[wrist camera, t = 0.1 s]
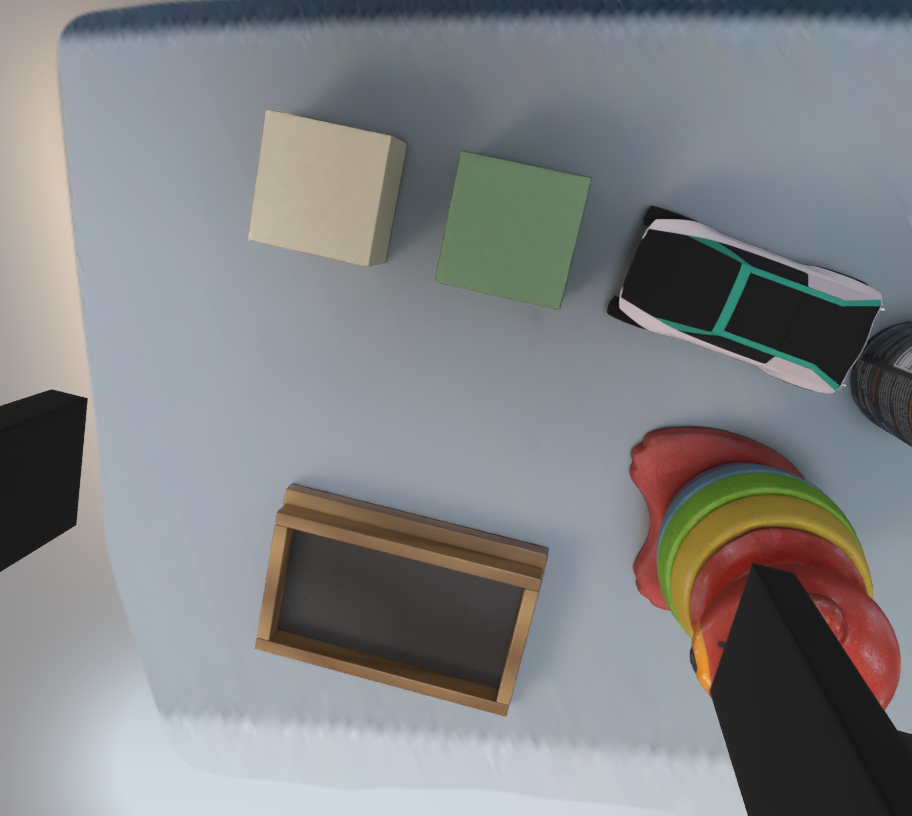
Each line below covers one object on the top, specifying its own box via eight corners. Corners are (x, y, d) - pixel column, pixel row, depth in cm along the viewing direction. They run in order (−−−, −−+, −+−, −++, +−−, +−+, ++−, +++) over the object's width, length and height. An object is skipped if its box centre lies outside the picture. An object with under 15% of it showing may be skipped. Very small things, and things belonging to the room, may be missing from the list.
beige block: (292, 119, 43) (265, 109, 39) (407, 143, 42) (391, 135, 38) (275, 238, 44) (247, 239, 41) (385, 263, 44) (368, 266, 40)
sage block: (470, 156, 42) (460, 150, 38) (589, 182, 41) (592, 177, 38) (445, 276, 44) (434, 281, 40) (560, 302, 43) (559, 310, 39)
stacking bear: (627, 428, 44) (667, 560, 27) (817, 419, 43) (987, 552, 25) (634, 604, 46) (675, 828, 29) (814, 601, 45) (969, 836, 28)
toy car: (813, 388, 42) (847, 410, 37) (604, 310, 43) (609, 322, 38) (864, 284, 41) (907, 293, 36) (646, 205, 41) (658, 202, 36)
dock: (291, 483, 48) (277, 497, 45) (548, 548, 46) (547, 565, 44) (265, 640, 50) (250, 661, 48) (507, 705, 49) (504, 730, 47)
